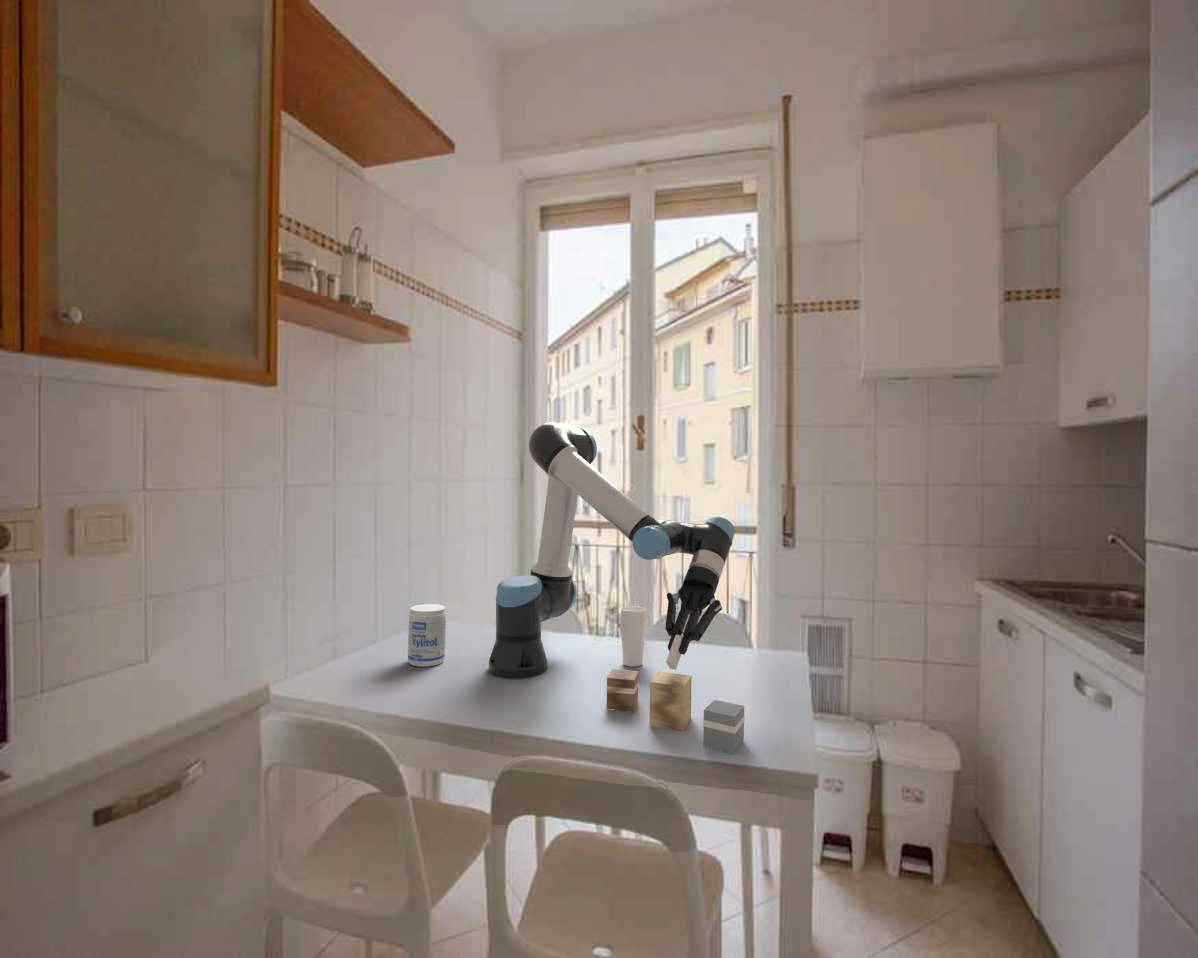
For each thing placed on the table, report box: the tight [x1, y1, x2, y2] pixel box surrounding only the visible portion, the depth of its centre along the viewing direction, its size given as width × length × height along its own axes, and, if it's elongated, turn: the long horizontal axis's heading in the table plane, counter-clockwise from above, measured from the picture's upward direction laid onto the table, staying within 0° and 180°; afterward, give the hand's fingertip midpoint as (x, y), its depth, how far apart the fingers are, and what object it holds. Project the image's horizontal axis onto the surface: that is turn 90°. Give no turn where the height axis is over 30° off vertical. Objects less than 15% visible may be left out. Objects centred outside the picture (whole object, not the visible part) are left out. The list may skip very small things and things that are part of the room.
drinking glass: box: [620, 605, 647, 668], centre depth 161 cm, size 7×7×15 cm
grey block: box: [702, 699, 745, 755], centre depth 114 cm, size 6×6×7 cm
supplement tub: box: [407, 603, 447, 668], centre depth 160 cm, size 10×10×15 cm
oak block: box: [649, 671, 693, 732], centre depth 124 cm, size 7×7×9 cm
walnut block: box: [606, 668, 639, 713], centre depth 132 cm, size 6×6×7 cm
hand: (671, 665), depth 124 cm, fingers closed
